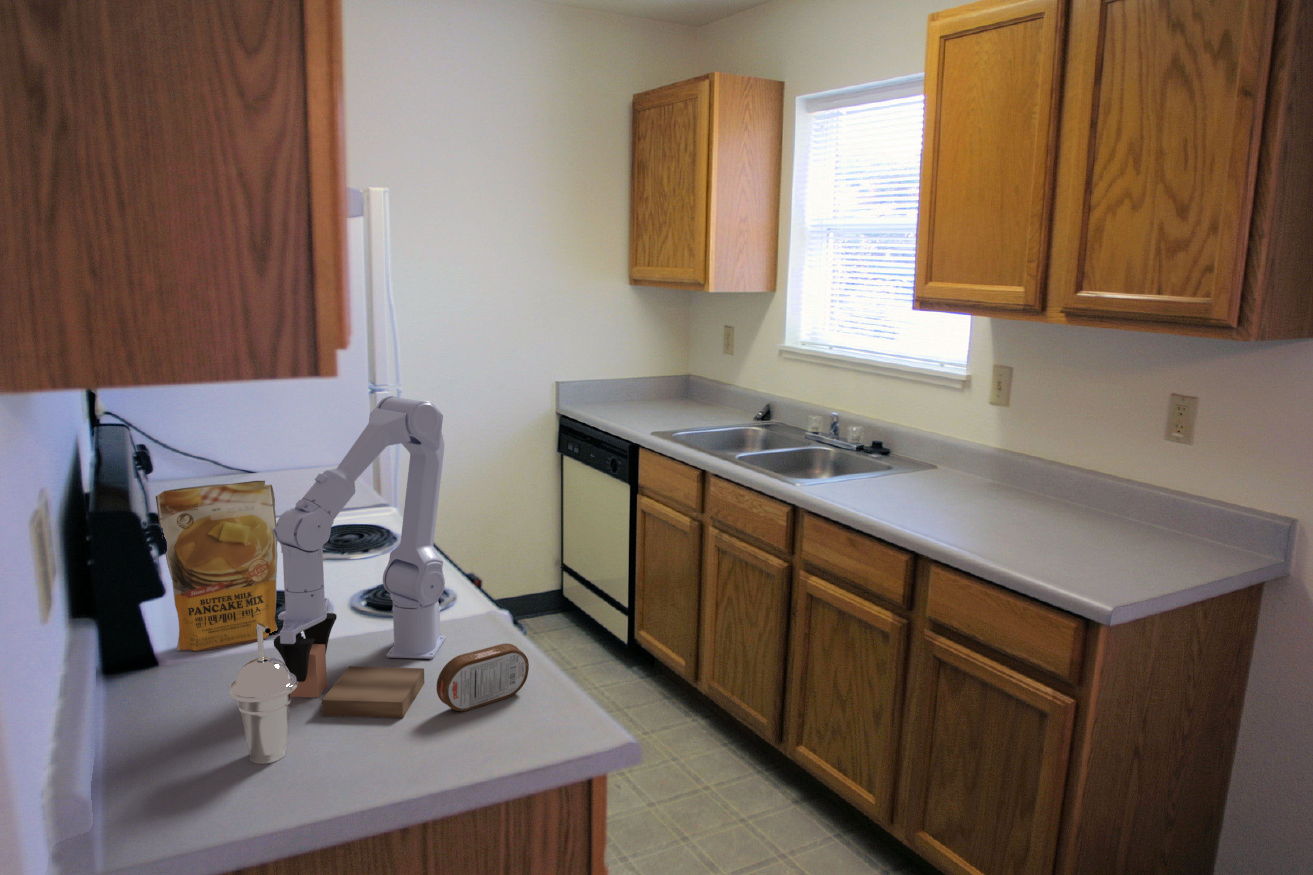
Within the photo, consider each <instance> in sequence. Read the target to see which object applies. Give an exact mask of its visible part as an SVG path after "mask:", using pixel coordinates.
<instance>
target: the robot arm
mask: <svg viewBox="0 0 1313 875" xmlns="http://www.w3.org/2000/svg"><path fill="white" fill-rule="evenodd" d="M443 420H444V415H443V414H442V412H441V411H440V409H438V408H437V406H436V405H435V404H434V403H432V402H431V401H428V400H419V399H418V400H417V399H409V398H404V397H399V396H395V395H388V396H385V397H384V398H381V400H380V401H379V402H378V403H377V405H376V407H375V408H374V409H373V410H372V411H370V413H369V417H368V424H367V425H366V426H365V427H364V429H363V431H362V432H361V433H360V434H359V436H358V438H357V439H356V440H355V442H354V443H353V444H352V446H351V448H350V449H349V450H348V452H347V453H346V454H345V456H344V457H343V459H342V460H341V462H340V463H339V464H338V466H337V467H336V468H333V469H326V470H325V471H323V472H322V473H318V474H317V475H316V477H315V478H314V480H315V481H314V483H313V485H312V486H311V487H310V488H309V489H308V490H307V492H305V494H304V495H303V497H302V498H301V499H299V500H298V501H297V502H296V503H295V507H293V508H289V509H287V510H286V511H284V512H283V513H282V514H281V515H280V516H279V517H278V518H277V519H278V520H276V528H274V529H273V534H274V537H275V538H276V540H277V543H279V544H280V547H281V548H280V549H281V552H280V553H282V565H283V566H282V568H283V586H284V587H283V589H284V606H285V608H284V610H283V611H281V612H280V613H279V614H278V615H277V616H278V618H277V619H278V620H280V621H283V625H282V629H281V630H279V635H277V636H276V637H275V638H274V639H273V646H274V648H275V649H276V650H277V651H278V653H279V655H280V657H281V658H282V660H283V663H284V664H285V665H286V667H287V668H288V669H289V671H290V673H292V674H294V675H295V676H296V679H297V682H304V681H305V680H306V677H307V671H308V659H309V654H310V650H311V647H312V645H313V644H325V653H326V654H327V650H328V649H327V648H328V644H329V640H330V635H331V632H332V629H333V627H334V624H335V622H336V620H337V618H338V617H337V616H338V615H337V613H333V612H328V611H330V598H328V597H326V596H325V577H324V576H325V574H324V551H323V548H324V547H323V546H324V545H325V544H326V543H328V542H329V540H330V537H331V533H332V532H331V530H332V526H333V525H334V521H335V519H336V517H338V515H339V514H340V513H341V512H342V510H343V509H344V508H345V506H347V504H348V503H349V501H351V499H352V498H353V496H354V495H355V494H356V481H357V479H359V477H360V476H361V475H362V474H363V473H364V472H365V471H366V470H367V468H368V467H369V466H370V465H371V464H372V463H373V462H375V460H376V459H377V458H378V457H379V456H380V455H381V453H382V452H384V450H385V449H386V448H388V447H389V446H394V445H399V444H401V445H402V446H403V447H404V448H405V449H406V451H408V452H409V464H408V471H407V481H406V490H405V497H404V498H405V499H404V507H403V508H404V509H403V517H402V526H401V533H400V534H401V535H400V544H399V545H397V547H395V548H394V549H393V550H392V551H390V553H389V560H388V563H387V565H386V567H385V569H384V572H383V574H382V585H383V587H384V589H385V590H386V591H387V592H388V594H389V593H390V595H389V596H390V600H392V616H393V617H392V620H393V622H392V623H393V645H392V647H391V648H390V649H389V651H388V652H387V653H386V658H394V659H397V658H399V659H426V660H427V659H429V660H431V659H433V658H434V657H435V656H436V654H437V653H438V652H439V650H440V648H441V646H442V645H443V644H444V641H445V640H446V639H447V636H446V635H444V634H442V635H441V611H440V610H441V608H440V606H441V605H440V603H439V599H440V598H441V596H442V594H443V592H444V589H445V584H446V581H445V580H446V578H445V574H444V571H443V565H444V561H443V559H442V558H441V556H440V554H439V553H438V552H437V550H436V549H435V547H434V542H435V533H436V526H437V525H436V524H437V516H438V506H439V500H440V499H439V497H440V489H441V482H442V481H441V479H442V473H443V472H442V471H443V463H444V454H445V439H444V435H443V433H442V432H443V431H442V430H443V429H442V428H443ZM302 633H303V634H304V636H303V634H302Z"/></svg>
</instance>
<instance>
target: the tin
mask: <svg viewBox="0 0 1313 875" xmlns="http://www.w3.org/2000/svg"><path fill="white" fill-rule="evenodd" d="M529 664H530V663H529V659H528V657H527V655H526V654H525V652H523V651H522V650H520V648H519V647H517V646H516V645H514V644H513V643H509V642H508V643H507V642H506V643H505V642H504V643H500V644H496V645H493V646H492V645H491V646H489V647H488V646H487V647H486V648H485V647H484V648H482V649H479V650H475V651H470V652H466V653H463V654H459V655H457V656H454V657H453V658H452V659H450V660H449V661H448V662H447V663H446V664H445V665H444V666H443V668H442V669H441V671H440V673H439V675H438V678H437V680H436V688H435V689H436V693H437V697H438V699H439V700H440V701H441V703H443V704H444V705H446V706H447V707H449V708H451V710H453V711H457V712H466V711H470V710H473V709H476V708H477V709H478V708H479V707H483V706H486V705H490V704H492V703H495V702H498V701H502V700H506V699H508V698H511V697H513V696H514V695H516V694H518V692H519V691H521V689H522V688H523V686H524V685H525V683H526V682H527V679H528V675H529V671H530V670H529V668H530V666H529Z"/></svg>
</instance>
